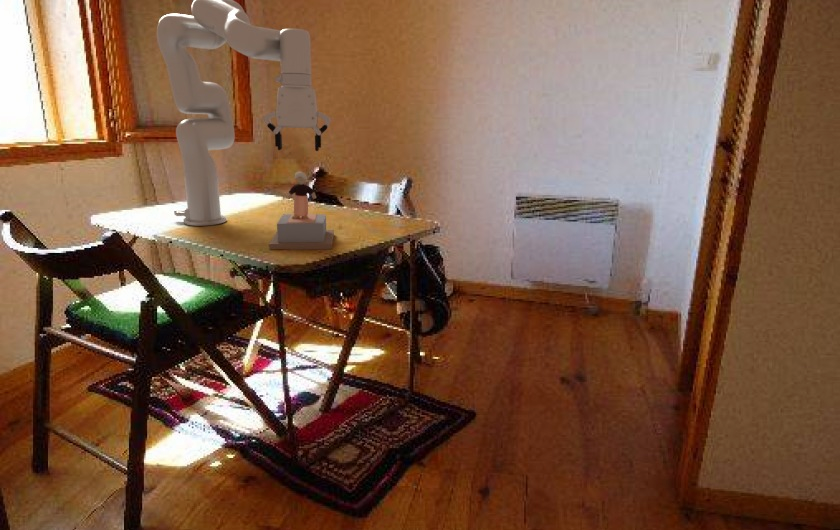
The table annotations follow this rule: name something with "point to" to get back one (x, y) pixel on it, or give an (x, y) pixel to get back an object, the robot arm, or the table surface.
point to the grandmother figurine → (300, 196)
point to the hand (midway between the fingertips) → (298, 150)
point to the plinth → (303, 244)
